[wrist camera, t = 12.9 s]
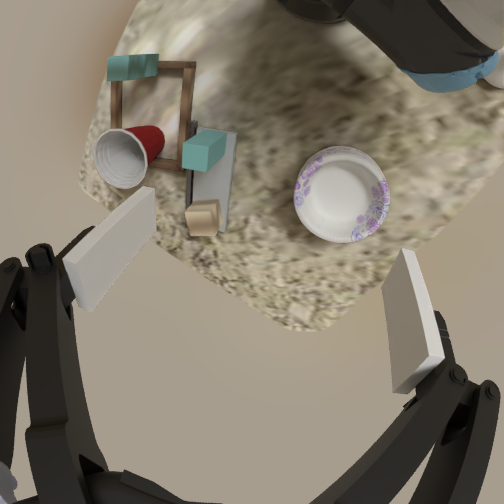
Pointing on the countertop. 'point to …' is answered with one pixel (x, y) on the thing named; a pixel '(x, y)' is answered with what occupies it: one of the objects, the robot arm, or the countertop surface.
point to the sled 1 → (146, 67)
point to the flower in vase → (497, 72)
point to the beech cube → (204, 217)
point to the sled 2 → (211, 165)
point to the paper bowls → (341, 195)
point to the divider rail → (190, 172)
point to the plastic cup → (126, 154)
